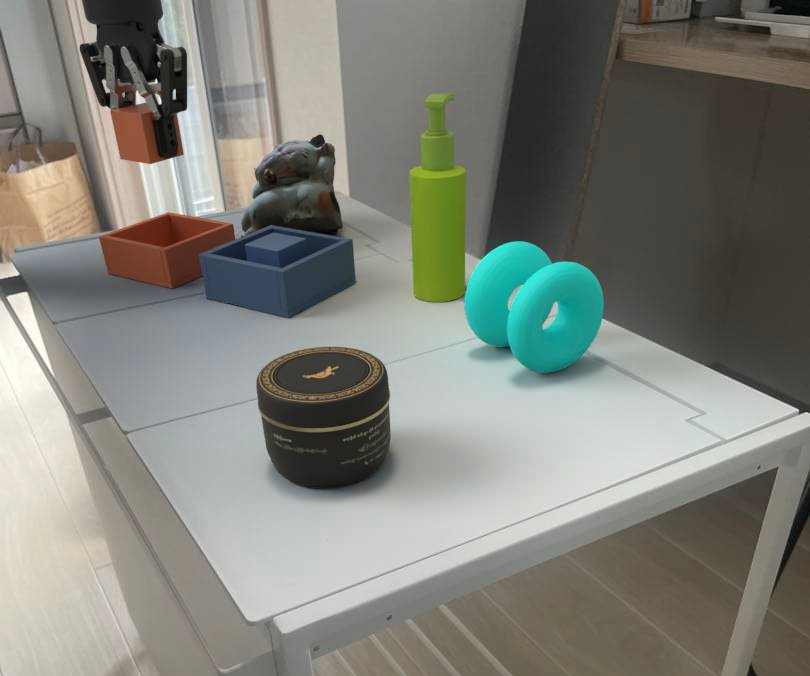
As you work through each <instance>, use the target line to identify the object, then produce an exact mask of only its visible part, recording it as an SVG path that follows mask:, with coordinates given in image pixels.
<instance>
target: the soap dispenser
mask: <svg viewBox="0 0 810 676" xmlns="http://www.w3.org/2000/svg"><path fill="white" fill-rule="evenodd" d="M454 100H455V94H453V93H431V94H430V95H428V96H427V97H426V99H425V100H424V102H423V107H424V109H428V110H427V111H428V129H426V130H425V131H423V132H422V133H420V164H421V165H419V166H416V167H413V168H411V169H410V170H409V196H410V199H409V201H410V226H411V259H412V260H411V261H412V289H413V291H412V292H413V296H414V297H415V298H416V299H419V300H421V301H425V302H430V303H431V302H432V303H442V302H451V301H455V300H458V299H460V298H461V297H463V296H465V294H466V193H467V192H466V184H467V182H466V181H467V180H466V177H467V176H466V175H467V172H466V171H467V170H466V168H465V167H463V166H462V165H461V166H460V165H457V164H454V162H455V160H454V159H455V157H454V154H455V151H454V148H455V147H454V141H455V140H454V139H455V138H454V133H453V132H452V131H450V130H449V129H447V128H446V105H447V104H448V103H449V102H450V101H454Z"/></svg>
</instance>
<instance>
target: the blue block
mask: <svg viewBox="0 0 810 676" xmlns="http://www.w3.org/2000/svg"><path fill="white" fill-rule="evenodd" d="M245 250H246V257H247V261H249V262H254V263H259V264H264V265H269V266H274V267H279V268H283V267H285V266H288V265H290V264H292V263H294V262H296V261H298V260H301V259H303V258H305V257H307V256H308V248H307V239H306V238H301V237H296V236H290V235H285V234H279V233H271V234H269V235H266V236H264V237H262V238H259V239H257V240H254V241H252V242H250V243H247V244H245Z"/></svg>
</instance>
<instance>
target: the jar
mask: <svg viewBox="0 0 810 676" xmlns="http://www.w3.org/2000/svg"><path fill="white" fill-rule="evenodd" d="M255 384H256V396H257V408H258V411H259V413H260V417H261V423H262V431H263V435H264V442H265V447H266V451H267V454H268V456H269V458H270V461H271V463H272V465H273V467H274V468H275V470H276V471H277V472H278V474H280V475H281V476H282V477H284V478H285V479H286V480H287V481H289V482H291V483H293V484H295V485H298V486H301V487H305V488H309V489H310V488H312V489H336V488H343V487H347V486H351V485H355V484H357V483H360V482H362V481H364V480H367V479H368V478H369V477H371V476H373V475H374V474H375V473H376V472H377V471H378V470H379V469H380V468H381V467H382V466H383V464H384V463H385V461H386V459H387V456H388V453H389V450H390V444H391V436H392V433H391V415H390V414H391V413H390V412H391V411H390V401H391V390H390V386H389V385H390V384H389V375H388V370H387V368H386V365H385V364H384V363H383V361H382V360H381V359H379V358H378V356H375V355H374V354H372V353H369V352H367V351H365V350H361V349H358V348H352V347H346V346H345V347H344V346H319V347H318V346H316V347H309V348H303V349H299V350H295V351H292V352H288V353H286V354H283V355H281V356H278V357H276V358H274V359H273V360H271V361H270V362H268V363H267V364H266V365H265V366H263V367H262V369H261V370H260V371H259V373H258V375H257V378H256V383H255Z"/></svg>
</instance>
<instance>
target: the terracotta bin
mask: <svg viewBox="0 0 810 676" xmlns="http://www.w3.org/2000/svg"><path fill="white" fill-rule="evenodd" d="M236 239H237V238H236V234H235V227H234V223H232V222H226V221H221V220H215V219H209V218H203V217H197V216H191V215H186V214H180V213H174V212H170V211H168V212H165V213H162V214H159V215H156V216H153V217H150V218H148V219H145V220H142V221H139V222H135V223H133V224H130V225H128V226H125V227H122V228H119V229H115V230H113V231H111V232H107V233H105V234H102V235H98V240H99V244H100V247H101V251H102V255H103V260H104V263H105V267H106V271H107V274H109V275H113V276H117V277H121V278H126V279H130V280H134V281H138V282H142V283H148V284H151V285H155V286H159V287H163V288H168V289H175V288H177V287H180V286H182V285H184V284H187V283H189V282H191V281H194V280H196V279H199V278H201V277H203V276H202V270H201V265H200V259H199V254H201V253H204V252H206V251H209V250H211V249H213V248H216V247H218V246H221V245H223V244H226V243H228V242H231V241H233V240H236Z"/></svg>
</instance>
